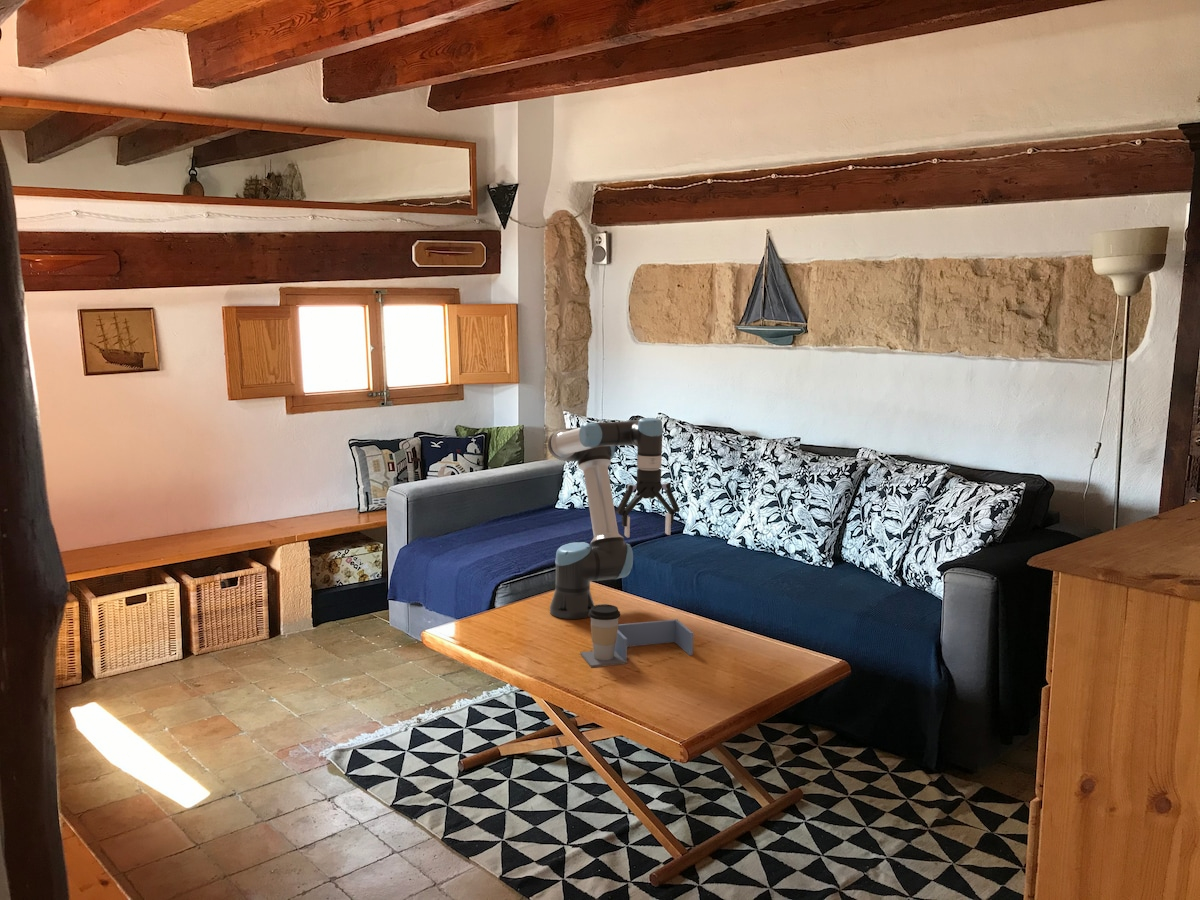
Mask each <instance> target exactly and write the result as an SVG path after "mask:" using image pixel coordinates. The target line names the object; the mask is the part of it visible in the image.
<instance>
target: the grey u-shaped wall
mask: <svg viewBox="0 0 1200 900" xmlns="http://www.w3.org/2000/svg"><path fill="white" fill-rule="evenodd" d="M669 643H675V644H676V645H677V646H678V647H680V648H681V650H683V651H684V652H685V653H686V654H687V655H688V656H693V655H694V632H693V631H692V630H690V629H689V628H688V627H687V626H686V625H685V624H684V623H682V622H681V621H680V620H679V619H678V618H677V619H666V620H653V621H642V622H631V623H630V622H629V623H620V624H619V623H618V631H617V639H616V643H615V651H616V652H617V653H618V655H619V656H620V657H621V658H622V659H623V660H626V661H627V662H628V647H637V646H647V645H658V644H669Z"/></svg>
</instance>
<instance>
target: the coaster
mask: <svg viewBox="0 0 1200 900" xmlns="http://www.w3.org/2000/svg"><path fill="white" fill-rule="evenodd" d="M579 654H580V656H581V657H582V658H583V659H584V661H585V662H586V663H587V665H588V666H589V667H590V668H596V667H598V668H599V667H607V666H617V665H628V660H627V661H626V660H623V659H622V658H621V657H620V656H619V655H618V653H617V652H616V651H614V657H613V659H611V660H598V659H596V658H594V651H593V650H590V651H582V652H581V651H580V653H579Z"/></svg>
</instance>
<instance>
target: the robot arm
mask: <svg viewBox="0 0 1200 900" xmlns="http://www.w3.org/2000/svg"><path fill="white" fill-rule="evenodd" d="M663 433H664V430H663V421H662V419H660V418H655V417H641V418H640V419H639V420H636V419H627V420H625V421H612V422H594V421H593V422H585V423H582V424H581V425H580V427H573V428H571V427H570V428H569V427H568V428H562V429H561V428H560V429H559V430H556V431H554V432H553V433H551V434H550V436H549V437H548V438H547V439H548V440H547V448H548V449H547V450H548V452H549V453H550V455H551V456H552V457H554V459H557V460H558V461H561V462H562V461H563V462H577V465H578V469H580V470H582V472H583V476H584V482H585V483H584V484H585V490H586V495H587V501H588V502H587V503H588V509H589V513H590V514H589V516H590V521H591V522H590V523H591V526H592V527H591V528H592V534H593V538H592V540H591V541H590V544H589V543H588V542H583V541H580V542H577V541H576V542H575V541H573V542H569V543H566V544H563V545H560V547H558V548H557V549H556V554H555V561H554V563H555V590H554V594H553V596H552V599H551V602H550V605H549V613H550V614H551V615H552V616H554V617H555V618H558V619H559V618H560V619H565V620H581V619H587V618H591V617H590V616H589V615H588V614H589V611H590V610H591V608H592V607H593V606H595V602H594V600H593V597H592V594H591V589H590V587H591V582H596V581H607V580H618V579H621V578H622V579H624V578H626V577H627V576H629V575H630V573H631V570H632V568H633V563H634V551H633V548H632V546H631V544H630V543H628V542H627V543H626V542H625V538H624V537H626V538H630V536H631V535H630V534H631V533H630V532H631V530H630V528H631V526H630V525H631V517H630V514H631V512H632V511H633V510H634V508H635V507H636V506H637V504H638V503H639V502H640V501H642V500H643V499H655V498H656V499H657V500H658V501H659V502H660V504H661V505H662V506H663V507H664V508H665V510H666V511H667V512H666V513H665V520H664V521H665V525H664V526H665V527H664V529H665V530H664V534H665V535H667V536H671V532H672V531H671V527H672V526H671V525H672V524H674V518H675V517H674V516H675V514H676V513H679V512H680V510H681V509H680V507H679V505H678V503H677V501H676V498H675V496H674V494H673V492H672V485H671V483H669V482H664V483H662V470H661V468H662V461H663V460H662V454H663ZM617 446H618V447H619V446H621V447H622V446H637V452H636V453H637V455H636V459H637V460H636V466H637V469H636V483H635V484H630V483H627V484H626V488H625V492H624V494H623V495H622V498H621V501H620V502H619V505H618V506H617V509H616V510H615V505H614V499H613V498H614V497H613V492H612V488H611V487H612V486H611V480H610V479H611V478H610V475H609V474H610V473H609V466H610V465H611V463H612V461H611V460H612V459H613V458H614V456H615V453H616V451H615V449H616V447H617ZM635 490H636V491H637V492H636V493H635V494H634V496H633V498H632V499H631V496H632V494H633V493H634V491H635ZM661 490H664V492H665V494H666V496H667V498H668V501H669V502H670V504H669V503H668V501H666V499H665V498H664V497H663V495H662V494H661ZM630 499H631V500H630ZM628 502H629V503H628ZM670 505H671V506H670ZM616 514H618V515H619V516H621V526H622V527H624V534H623V535H624V536H623V535H621V534H620V533H619V528H618V523H617V517H616Z"/></svg>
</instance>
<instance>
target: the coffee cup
mask: <svg viewBox="0 0 1200 900" xmlns="http://www.w3.org/2000/svg"><path fill="white" fill-rule="evenodd" d="M588 615H589V616H590V617H589V618H590V631H591V633H590V635H591V643H592V649H593V650H592V651H594V658H596V659H598V660H611V659H613V657H614V651H615V643H616V639H617V631H618V624H619V618H621V611H620V610H619V608H618V606H616V605H612V604H605V603H603V604H594V606H593V607H592V608H591V610H590V611H589V614H588Z"/></svg>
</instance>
